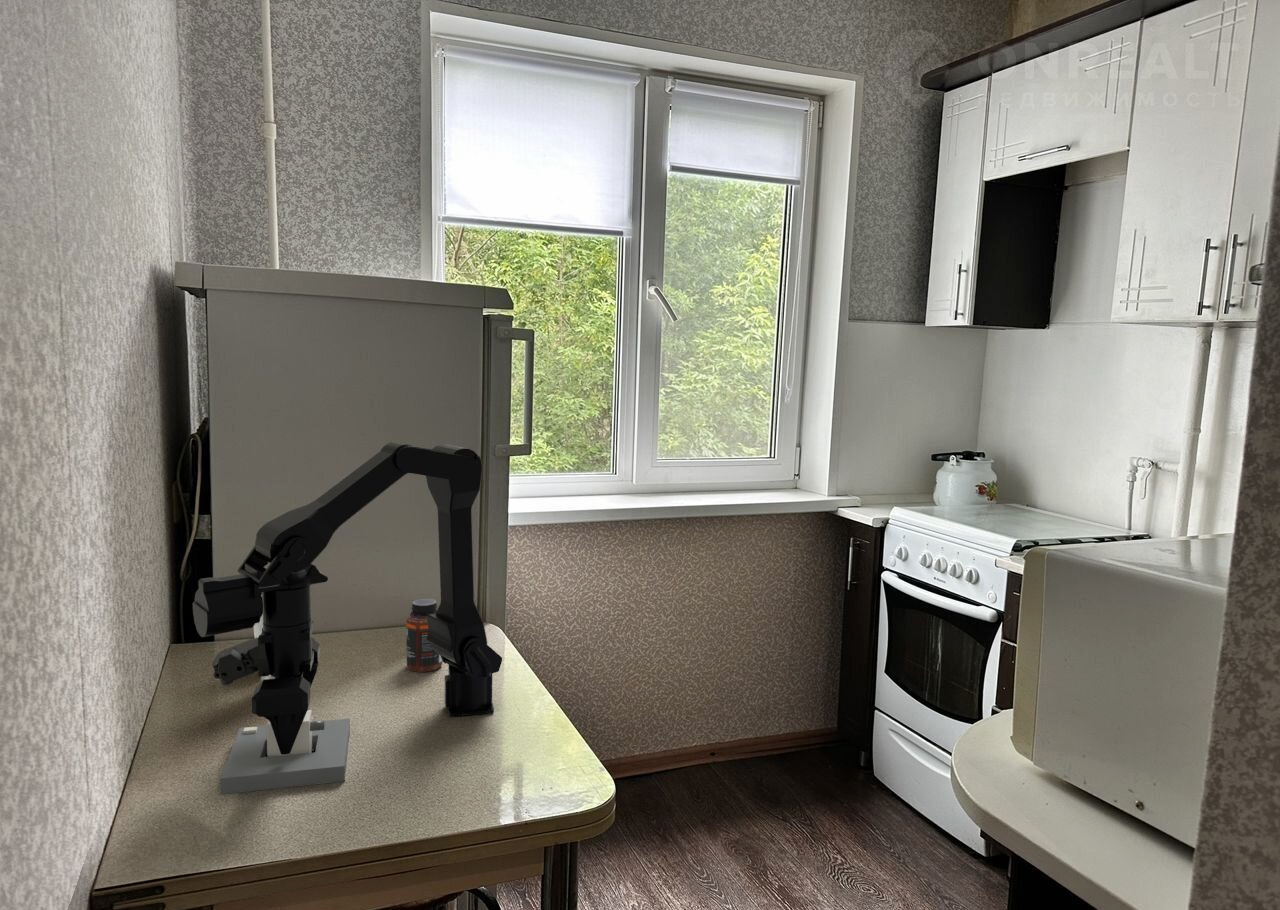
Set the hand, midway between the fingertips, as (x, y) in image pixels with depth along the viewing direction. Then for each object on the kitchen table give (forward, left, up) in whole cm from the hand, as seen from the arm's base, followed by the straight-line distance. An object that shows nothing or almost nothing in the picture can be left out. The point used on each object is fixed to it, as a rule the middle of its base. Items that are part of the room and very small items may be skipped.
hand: (289, 737), depth 110 cm
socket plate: (0, 0, -3) cm, 3 cm away
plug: (0, 0, -3) cm, 3 cm away
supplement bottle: (-18, -30, -4) cm, 35 cm away
